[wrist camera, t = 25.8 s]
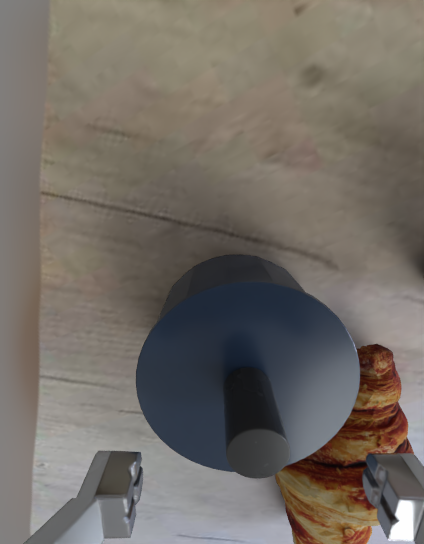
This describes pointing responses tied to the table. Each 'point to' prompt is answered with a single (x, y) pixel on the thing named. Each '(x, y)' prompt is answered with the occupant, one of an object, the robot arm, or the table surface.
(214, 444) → the lid
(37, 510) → the table surface
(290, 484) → the croissant
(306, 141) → the table surface
